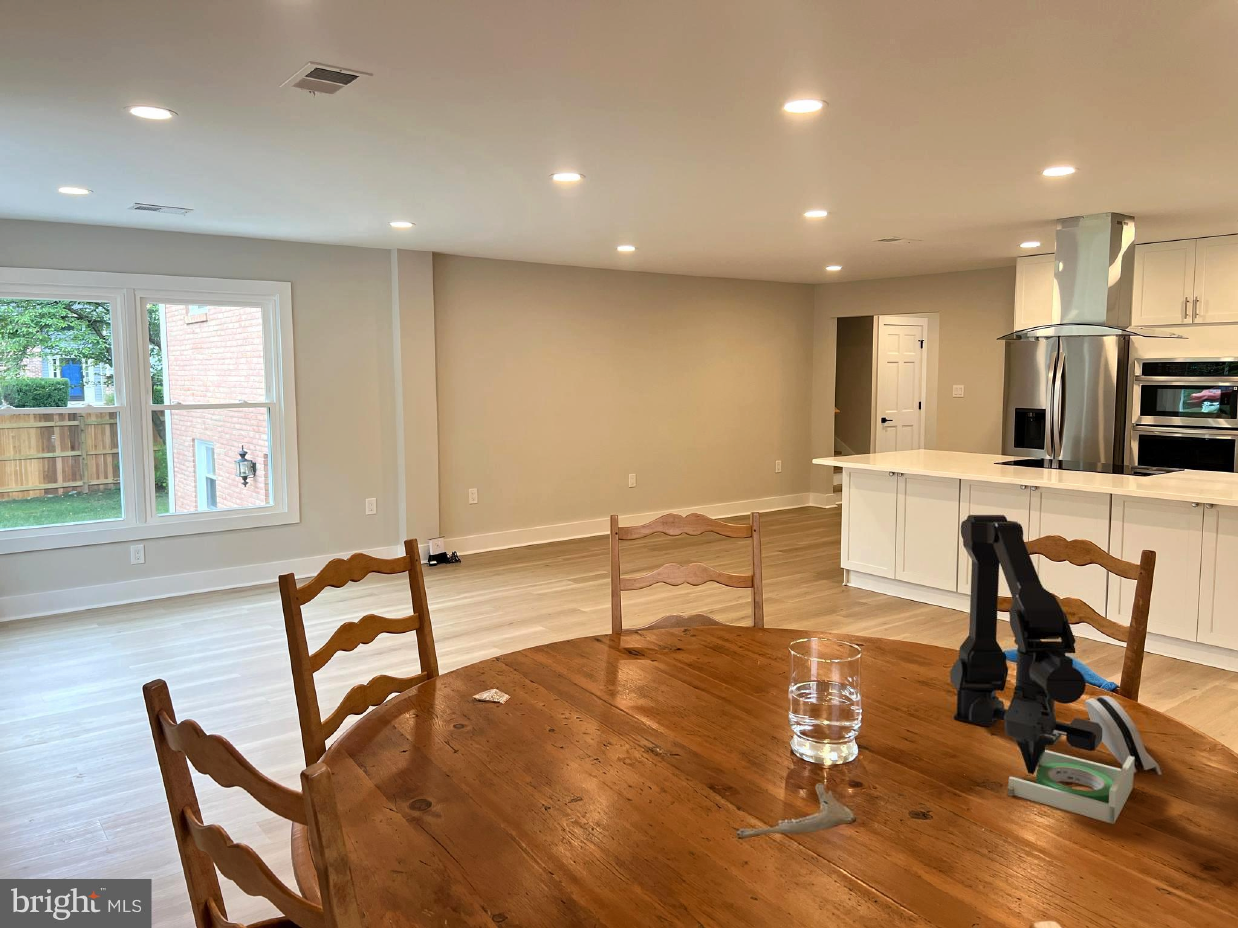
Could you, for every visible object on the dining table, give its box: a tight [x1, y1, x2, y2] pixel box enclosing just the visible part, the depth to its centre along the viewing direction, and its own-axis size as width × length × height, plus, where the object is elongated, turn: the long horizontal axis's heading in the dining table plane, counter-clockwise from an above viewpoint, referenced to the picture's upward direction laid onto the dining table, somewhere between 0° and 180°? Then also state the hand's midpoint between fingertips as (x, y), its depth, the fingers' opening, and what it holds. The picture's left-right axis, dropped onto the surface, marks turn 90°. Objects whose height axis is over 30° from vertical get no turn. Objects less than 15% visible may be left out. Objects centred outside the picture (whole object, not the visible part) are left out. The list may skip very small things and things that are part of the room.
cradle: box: [1006, 749, 1135, 825], centre depth 134 cm, size 15×16×5 cm
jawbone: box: [736, 782, 856, 839], centre depth 125 cm, size 9×20×2 cm, turn 131°
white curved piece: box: [1084, 695, 1162, 775], centre depth 148 cm, size 17×5×10 cm, turn 169°
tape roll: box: [1035, 763, 1113, 804], centre depth 134 cm, size 11×11×3 cm
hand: (1031, 772), depth 138 cm, fingers closed
